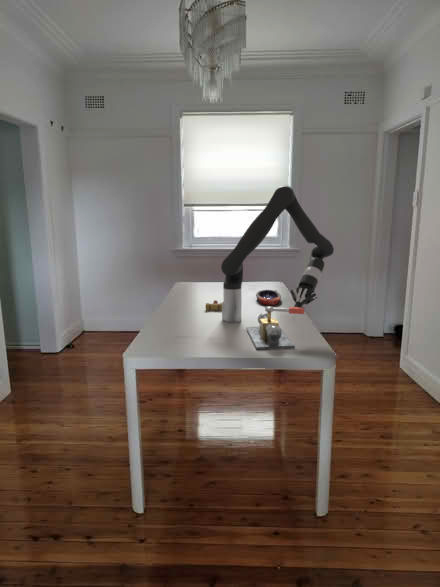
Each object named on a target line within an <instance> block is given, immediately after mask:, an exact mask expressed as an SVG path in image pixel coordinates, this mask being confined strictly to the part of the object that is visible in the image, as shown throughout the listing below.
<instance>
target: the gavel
mask: <svg viewBox="0 0 440 587" xmlns="http://www.w3.org/2000/svg"><path fill="white" fill-rule="evenodd" d="M205 311H206V312H209V311H214V312H215V311H216V312H218V311H220V312H222V302H220V303H219V301H218V300H214V301H213V303H209V302H205Z"/></svg>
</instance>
